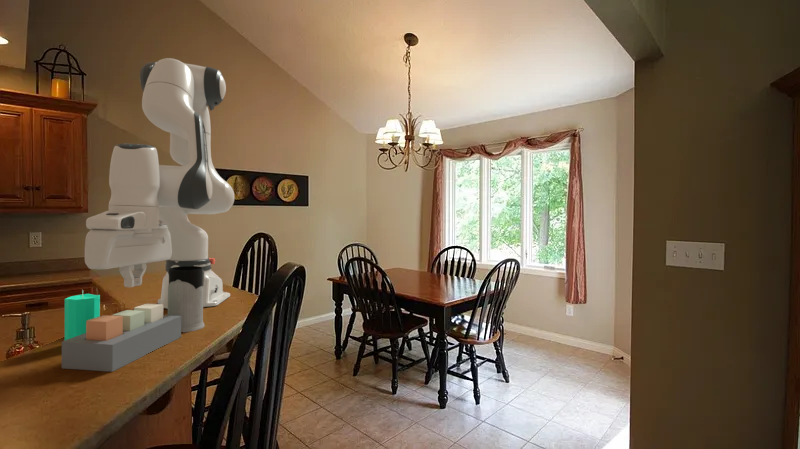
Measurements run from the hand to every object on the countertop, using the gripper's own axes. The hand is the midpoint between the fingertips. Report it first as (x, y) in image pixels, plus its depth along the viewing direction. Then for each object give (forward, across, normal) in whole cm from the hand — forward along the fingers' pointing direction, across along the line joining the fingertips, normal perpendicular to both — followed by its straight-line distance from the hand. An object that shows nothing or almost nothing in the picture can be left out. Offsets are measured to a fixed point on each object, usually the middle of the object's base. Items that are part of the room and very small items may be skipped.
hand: (133, 286), depth 83 cm
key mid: (+12, 0, 0) cm, 12 cm away
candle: (+14, -2, -12) cm, 19 cm away
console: (+14, 0, 0) cm, 14 cm away
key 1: (+11, +6, 0) cm, 13 cm away
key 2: (+11, -6, 0) cm, 13 cm away
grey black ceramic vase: (+13, -20, +1) cm, 24 cm away
